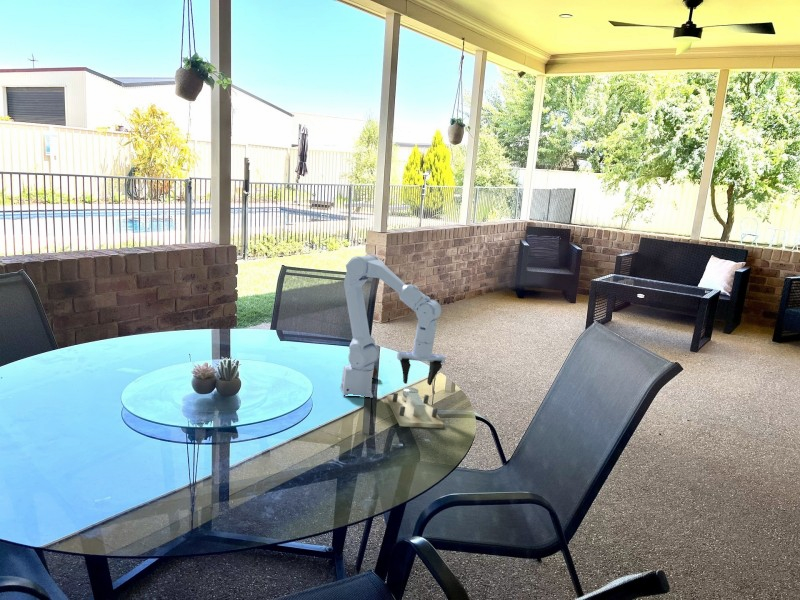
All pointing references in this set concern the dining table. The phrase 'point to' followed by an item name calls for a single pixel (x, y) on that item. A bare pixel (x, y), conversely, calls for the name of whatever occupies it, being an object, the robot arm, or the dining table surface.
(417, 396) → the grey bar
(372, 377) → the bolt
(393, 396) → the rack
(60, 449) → the dining table surface
